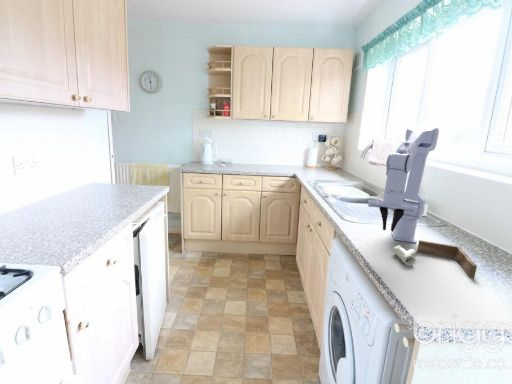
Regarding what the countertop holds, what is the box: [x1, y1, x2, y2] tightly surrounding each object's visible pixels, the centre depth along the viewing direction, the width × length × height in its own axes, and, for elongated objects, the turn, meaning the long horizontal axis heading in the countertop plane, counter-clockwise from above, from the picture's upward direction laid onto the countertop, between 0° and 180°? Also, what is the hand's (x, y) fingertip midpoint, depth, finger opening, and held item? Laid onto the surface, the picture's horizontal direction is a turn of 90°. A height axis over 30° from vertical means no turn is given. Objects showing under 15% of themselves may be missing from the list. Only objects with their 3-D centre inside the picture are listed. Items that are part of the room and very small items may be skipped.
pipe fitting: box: [392, 244, 418, 267], centre depth 95 cm, size 8×4×7 cm
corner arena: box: [416, 239, 478, 279], centre depth 94 cm, size 16×13×4 cm
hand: (388, 229), depth 96 cm, fingers closed
